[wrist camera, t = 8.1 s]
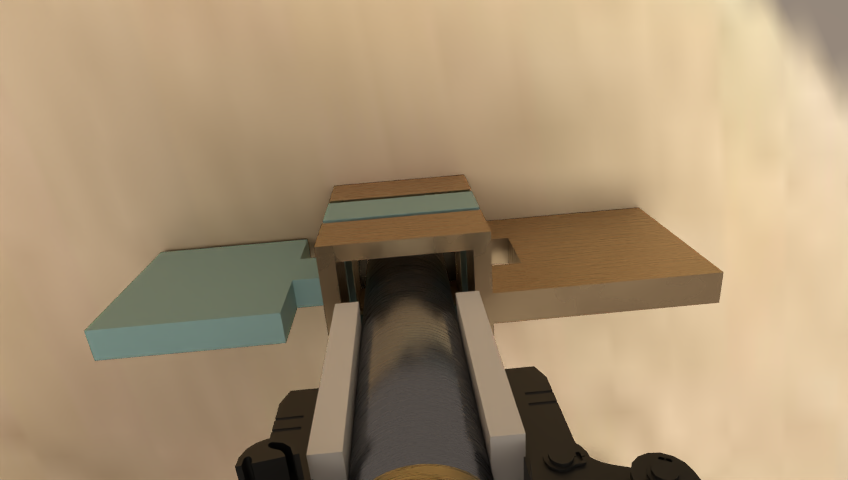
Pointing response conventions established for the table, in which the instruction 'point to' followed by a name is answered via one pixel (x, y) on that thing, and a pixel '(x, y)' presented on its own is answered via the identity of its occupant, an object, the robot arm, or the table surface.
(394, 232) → the square hinge knuckle
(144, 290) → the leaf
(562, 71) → the table surface
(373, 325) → the pin
